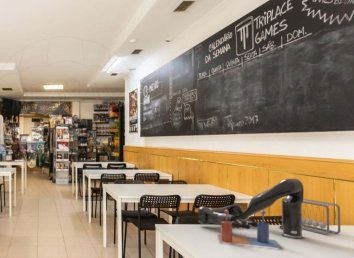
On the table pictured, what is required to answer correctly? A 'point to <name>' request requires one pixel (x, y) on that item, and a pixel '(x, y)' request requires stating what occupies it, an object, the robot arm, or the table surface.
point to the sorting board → (252, 241)
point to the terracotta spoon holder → (226, 230)
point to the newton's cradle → (316, 223)
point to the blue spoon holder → (262, 230)
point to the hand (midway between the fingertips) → (254, 226)
